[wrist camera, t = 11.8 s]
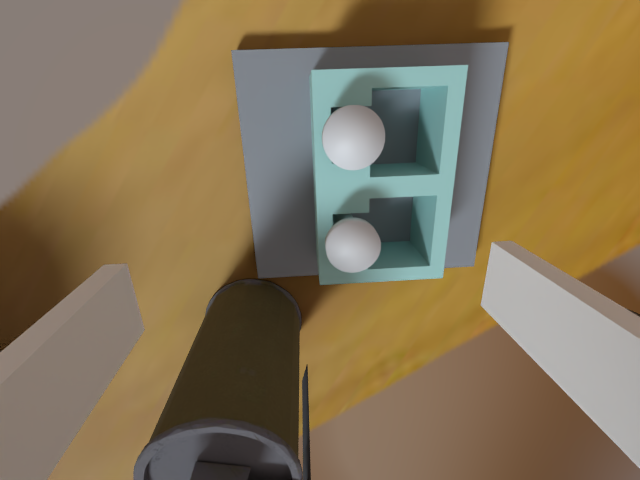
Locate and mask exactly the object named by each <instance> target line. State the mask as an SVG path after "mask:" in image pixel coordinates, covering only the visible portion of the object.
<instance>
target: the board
mask: <svg viewBox="0 0 640 480" xmlns="http://www.w3.org/2000/svg"><path fill="white" fill-rule="evenodd" d="M508 45H509V42H495V43H461V44H427V45H393V46H360V47H326V48H292V49H258V50H231V51H232V60H233V68H234V77H235V85H236V94H237V102H238V111H239V119H240V128H241V136H242V145H243V153H244V162H245V170H246V179H247V188H248V196H249V205H250V213H251V222H252V230H253V239H254V247H255V256H256V264H257V273H258V278H274V277H292V276H310V275H319V274H318V265H317V253H316V229H315V204H314V180H313V156H312V131H311V107H310V83H309V76H310V73H311V70H326V69H357V68H388V67H419V66H450V65H468V71H467V79H466V87H465V96H464V104H463V112H462V121H461V129H460V138H459V146H458V154H457V163H456V171H455V180H454V188H453V196H452V205H451V213H450V222H449V230H448V238H447V247H446V255H445V263H444V268H451V267H469V266H474V262H475V255H476V249H477V243H478V236H479V230H480V223H481V217H482V211H483V204H484V198H485V192H486V185H487V179H488V172H489V166H490V160H491V153H492V147H493V140H494V134H495V128H496V121H497V115H498V108H499V102H500V96H501V89H502V83H503V77H504V70H505V64H506V57H507V51H508ZM420 96H421V89H407V90H379V91H372V106H361V105H347V106H344V107H331V115H330V116H329V118H328V119H327V121H326V122H325V125H324V127H323V131H322V144H323V148H324V150H325V152H326V154H327V156H328V157H329V159H330V160H331V161H332V162H333V163H334V164H335V165H337V166H338V167H340V168H342V169H346V170H359V169H363V168H365V167H367V166H369V165H371V164H392V163H415V162H416V150H417V136H418V123H419V109H420ZM412 204H413V197H392V198H371V199H369V213H349V214H333V226H332V227H331V228H330V230H329V231H328V233H327V235H326V239H325V248H326V253H327V257H328V259H329V261H330V262H331V264H332V265H333V266H334V267H336V268H337V269H339V270H341V271H344V272H349V273H355V272H360V271H363V270H365V269H367V268H369V267H370V266H371V265H373V264H374V262H375V261H376V260H377V258H378V256H379V254H380V250H381V242H400V241H410V232H411V218H412Z"/></svg>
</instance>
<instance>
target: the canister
mask: <svg viewBox="0 0 640 480" xmlns="http://www.w3.org/2000/svg"><path fill="white" fill-rule="evenodd" d="M300 329H301V313H300V310H299V307H298V305H297V302H296V301H295V299H294V298H293V297H292V296H291V294H289V293H288V292H287V291H286V290H285V289H283V288H281V287H280V286H278V285H276V284H274V283H272V282H269V281H263V280H257V279H245V280H238V281H236V282H233V283H231V284H228V285H226V286H224V287H223V288H222V289H220V290H219V291H218V292H217V293H216V294H215V295H214V296H213V298H212V299H211V300H210V302H209V304H208V306H207V309H206V314H205V318H204V320H203V322H202V325H201V327H200V329H199V331H198V333H197V336H196V338H195V340H194V342H193V345H192V347H191V349H190V351H189V354H188V356H187V358H186V360H185V363H184V365H183V367H182V369H181V371H180V374H179V376H178V378H177V380H176V383H175V385H174V387H173V389H172V392H171V394H170V396H169V398H168V401H167V403H166V405H165V407H164V409H163V412H162V414H161V416H160V418H159V421H158V423H157V425H156V427H155V430H154V432H153V434H152V436H151V439H150V441H149V443H148V444H147V445H146V446H145V447H144V449H143V450H142V452H141V454H140V455H139V457H138V459H137V461H136V464H135V466H134V480H311V473H310V439H309V438H310V437H309V403H308V368H307V366H306V370H305V373H304V376H303V380H302V401H303V472H302V468H301V464H300V460H299V459H298V430H299V335H300ZM302 474H303V475H302Z"/></svg>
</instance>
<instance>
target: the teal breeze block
mask: <svg viewBox="0 0 640 480" xmlns="http://www.w3.org/2000/svg"><path fill="white" fill-rule="evenodd" d="M467 71H468V65H450V66H419V67H388V68H357V69H326V70H311V73H310V76H309V83H310V107H311V131H312V156H313V180H314V204H315V229H316V253H317V265H318V274H319V283H320V285H329V284H347V283H364V282H382V281H399V280H416V279H434V278H443V272H444V263H445V255H446V247H447V238H448V230H449V222H450V213H451V205H452V196H453V188H454V180H455V171H456V163H457V154H458V146H459V138H460V129H461V121H462V112H463V104H464V96H465V87H466V79H467ZM407 89H421V96H420V109H419V123H418V136H417V150H416V162H415V163H392V164H371V165H369V166H367V167H365V168H363V169H359V170H346V169H342V168H340V167H338V166H337V165H335V164H334V163H333V162H332V161H331V160H330V159H329V157H328V156H327V154H326V152H325V150H324V148H323V144H322V131H323V127H324V125H325V122H326V121H327V119H328V118H329V116H330V115H331V107H344V106H347V105H361V106H372V91H379V90H407ZM392 197H413V204H412V218H411V232H410V241H400V242H381V250H380V254H379V256H378V258H377V260H376V261H375V262H374V264H373V265H371V266H370V267H369V268H367V269H365V270H363V271H360V272H355V273H349V272H344V271H341V270H339V269H337V268H336V267H334V266H333V265H332V264H331V262H330V261H329V259H328V257H327V253H326V248H325V239H326V235H327V233H328V231H329V230H330V228H331V227H332V226H333V214H349V213H369V199H371V198H392Z"/></svg>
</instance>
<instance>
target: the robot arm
mask: <svg viewBox="0 0 640 480" xmlns="http://www.w3.org/2000/svg"><path fill="white" fill-rule="evenodd" d="M481 306H482V307H483V308H484V309H485V310H486V311H487V312H488V313H489V314H490V315H491V316H492V317H493V318H494V320H495V321H496V322H497V323H498V324H499V325H500V326H501V327H502V328H503V329H504V330H505V331H506V332H507V333H508V334H509V335H510V336H511V337H512V338H513V339H514V340H515V341H516V342H517V343H518V344H519V345H520V346H521V347H522V348H523V349H524V350H525V351H526V352H527V353H528V354H529V355H530V356H531V357H532V358H533V360H534V361H535V362H536V363H538V365H539V366H540V367H541V368H542V369H543V370H544V371H545V372H546V373H547V374H548V375H549V376H550V377H551V378H552V379H553V380H554V381H555V382H556V383H557V384H558V385H559V386H560V387H561V388H562V389H563V390H564V391H565V392H566V393H567V394H568V395H569V396H570V397H571V398H572V399H573V401H575V403H576V404H578V406H579V407H580V408H581V409H582V410H583V411H584V412H585V413H586V414H587V415H588V416H589V417H590V418H591V419H592V420H593V421H594V422H595V423H596V424H597V425H598V426H599V427H600V428H601V429H602V430H603V431H604V432H605V433H606V434H607V435H608V436H609V437H610V438H611V439H612V441H613V442H615V444H616V445H617V446H618V447H619V448H620V449H621V450H622V451H623V452H624V453H625V454H626V455H627V456H628V457H629V458H630V459H631V460H632V461H633V462H634V463H635V464H636V465H637V466H638V467H639V468H640V314H638V313H636V312H633V311H631V310H628V309H626V308H623V307H622V306H620V305H619V304H617V303H615V302H613V301H612V300H610V299H609V298H607V297H605V296H603V295H602V294H600V293H598V292H597V291H595V290H593V289H592V288H590V287H588V286H587V285H585V284H583V283H582V282H580V281H578V280H577V279H575V278H573V277H572V276H570V275H568V274H566V273H565V272H563V271H561V270H560V269H558V268H556V267H555V266H553V265H551V264H550V263H548V262H546V261H545V260H543V259H541V258H540V257H538V256H536V255H534V254H533V253H531V252H529V251H528V250H526V249H524V248H523V247H521V246H519V245H518V244H516V243H514V242H513V241H502V242H492V245H491V250H490V256H489V262H488V267H487V273H486V279H485V284H484V290H483V296H482V301H481ZM144 330H145V329H144V326H143V322H142V318H141V314H140V311H139V307H138V303H137V299H136V295H135V292H134V288H133V284H132V280H131V276H130V273H129V269H128V265H127V263H126V264H109V265H103V266H102V267H101V268H100V269H98V270H97V271H96V272H95V273H94V274H92V275H91V276H90V277H89V278H88V279H87V280H85V281H84V282H83V283H82V284H81V285H79V286H78V287H77V288H76V289H75V290H73V291H72V292H71V293H70V294H69V295H68V296H66V297H65V298H64V299H63V300H62V301H60V302H59V303H58V304H57V305H56V306H55V307H53V308H52V309H51V310H50V311H49V312H47V313H46V314H45V315H44V316H43V317H42V318H40V319H39V320H38V321H37V322H36V323H34V324H33V325H32V326H31V327H30V328H28V329H27V330H26V331H25V332H24V333H23V334H21V335H20V336H19V337H18V338H17V339H15V340H14V341H13V342H12V343H11V344H10V345H8V346H7V347H6V348H5V349H4V350H2V351H0V480H47V479H48V477H49V476H50V474H51V472H52V471H53V469H54V468H55V466H56V465H57V463H58V462H59V460H60V459H61V457H62V456H63V454H64V453H65V451H66V449H67V448H68V446H69V445H70V443H71V442H72V440H73V439H74V437H75V436H76V434H77V433H78V431H79V430H80V428H81V427H82V425H83V423H84V422H85V420H86V419H87V417H88V416H89V414H90V413H91V411H92V410H93V408H94V407H95V405H96V404H97V402H98V400H99V399H100V397H101V396H102V394H103V393H104V391H105V390H106V388H107V387H108V385H109V384H110V382H111V381H112V379H113V377H114V376H115V374H116V373H117V371H118V370H119V368H120V367H121V365H122V364H123V362H124V361H125V359H126V358H127V356H128V354H129V353H130V351H131V350H132V348H133V347H134V345H135V344H136V342H137V341H138V339H139V338H140V336H141V335H142V333H143V331H144Z"/></svg>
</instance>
